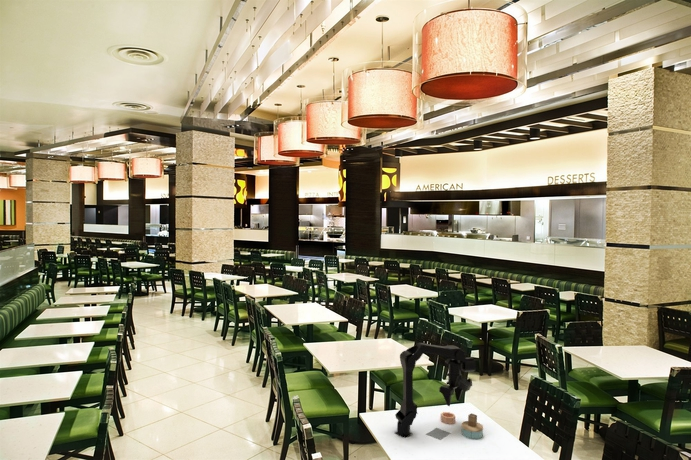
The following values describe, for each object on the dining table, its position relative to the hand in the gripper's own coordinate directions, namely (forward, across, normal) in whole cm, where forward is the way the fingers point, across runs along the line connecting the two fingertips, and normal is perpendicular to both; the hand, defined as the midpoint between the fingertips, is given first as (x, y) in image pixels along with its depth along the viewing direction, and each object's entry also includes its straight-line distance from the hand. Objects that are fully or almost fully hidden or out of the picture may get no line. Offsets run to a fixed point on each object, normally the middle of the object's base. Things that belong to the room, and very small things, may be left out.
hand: (453, 403), depth 228 cm
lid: (+9, +1, -10) cm, 13 cm away
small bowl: (+13, +6, +6) cm, 16 cm away
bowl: (+13, +1, -10) cm, 16 cm away
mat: (+13, -10, +2) cm, 16 cm away
